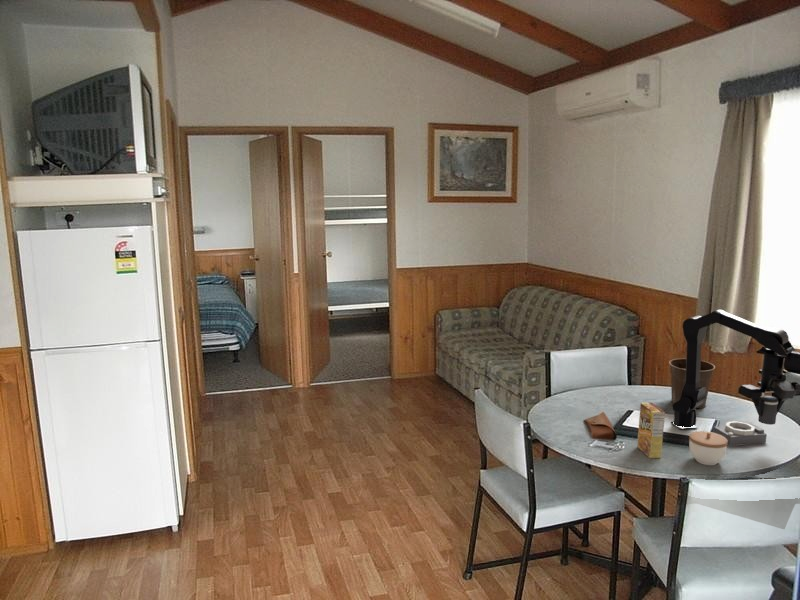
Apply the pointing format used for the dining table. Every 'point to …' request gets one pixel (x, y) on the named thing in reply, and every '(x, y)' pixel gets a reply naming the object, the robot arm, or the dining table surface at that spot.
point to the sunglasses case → (600, 427)
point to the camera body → (741, 433)
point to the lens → (769, 410)
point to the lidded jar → (707, 447)
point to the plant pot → (680, 377)
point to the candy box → (651, 430)
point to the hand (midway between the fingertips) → (767, 415)
